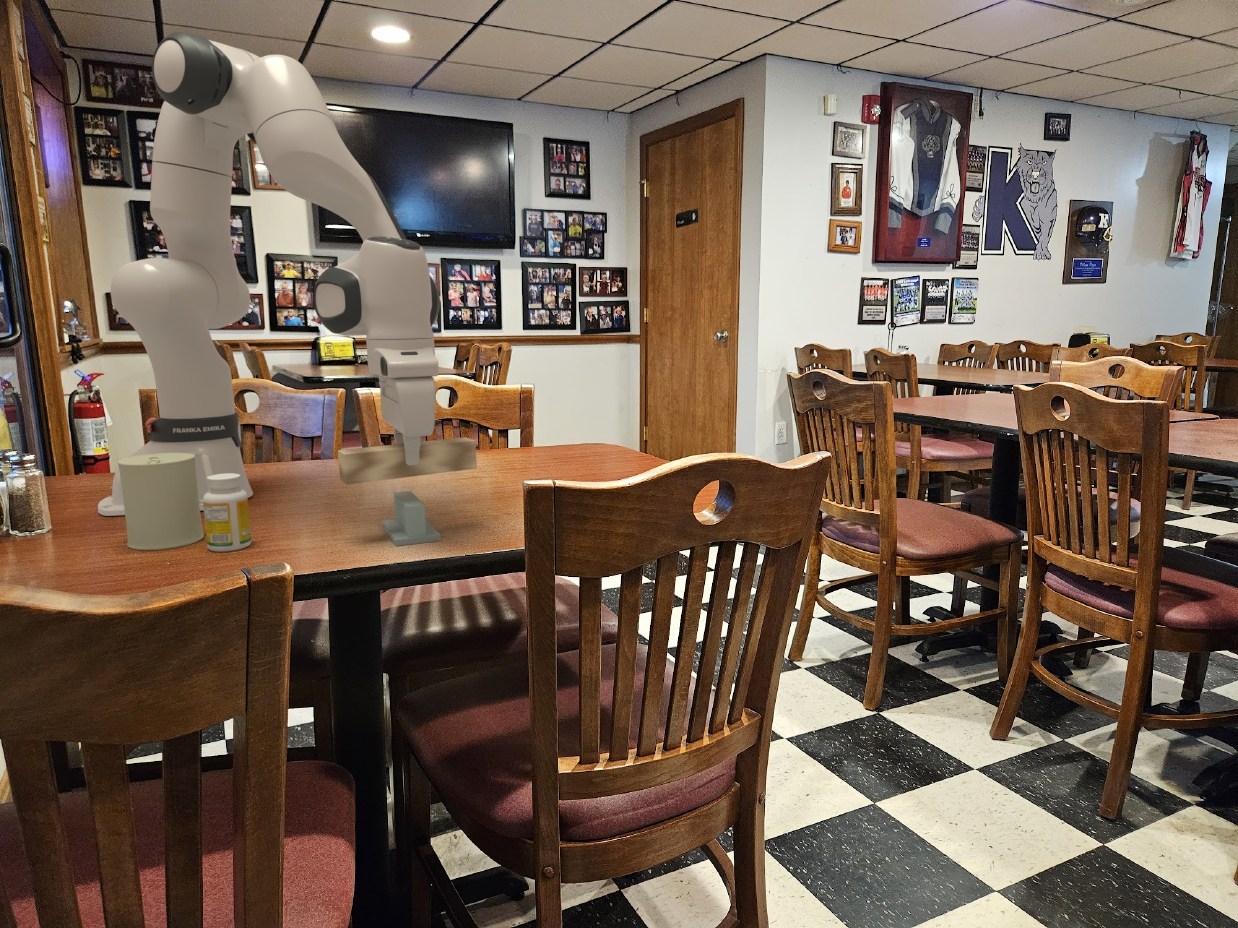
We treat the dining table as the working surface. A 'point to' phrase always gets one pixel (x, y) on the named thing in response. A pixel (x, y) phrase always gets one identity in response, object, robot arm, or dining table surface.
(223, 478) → the supplement bottle
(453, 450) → the plank
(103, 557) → the dining table surface
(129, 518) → the can
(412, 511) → the ridge
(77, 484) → the dining table surface
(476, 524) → the dining table surface
